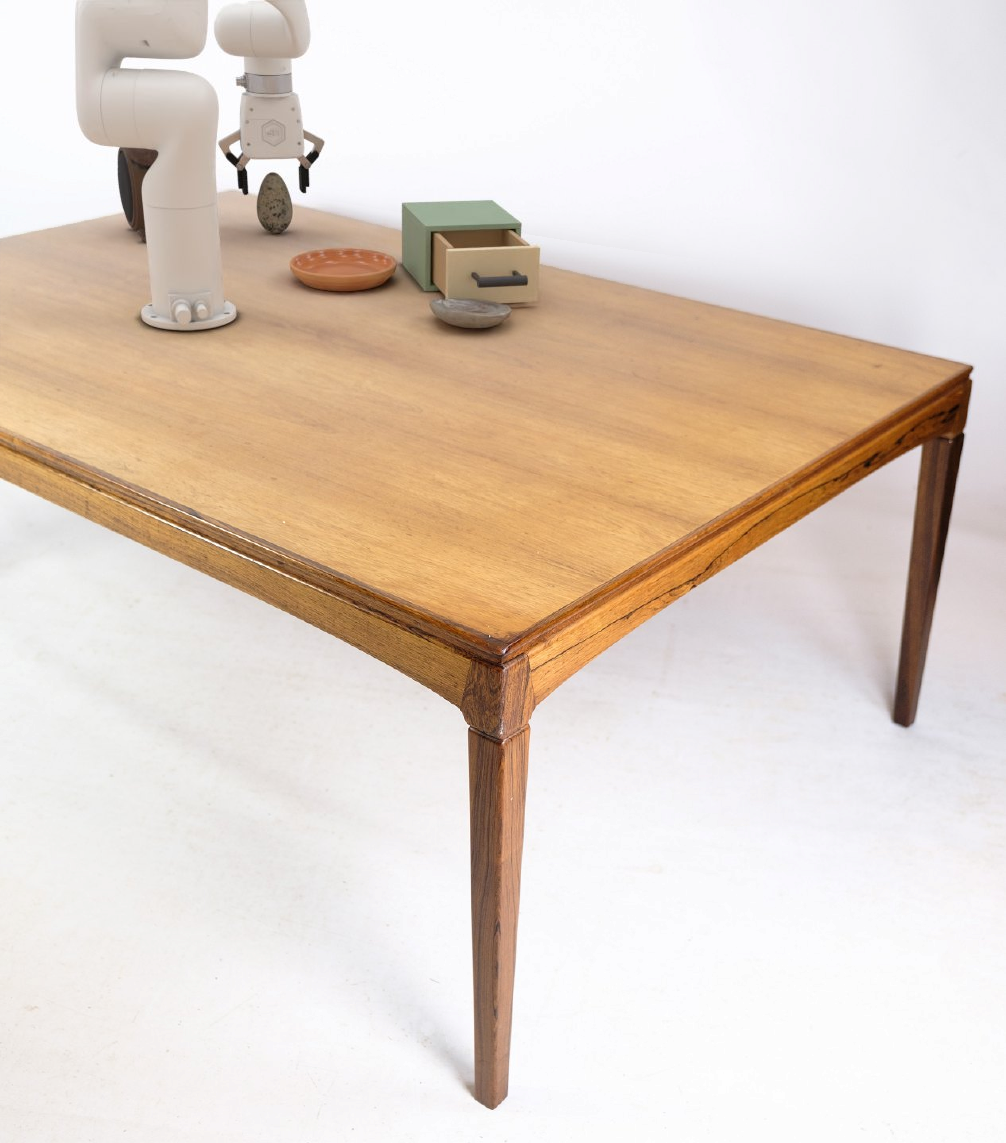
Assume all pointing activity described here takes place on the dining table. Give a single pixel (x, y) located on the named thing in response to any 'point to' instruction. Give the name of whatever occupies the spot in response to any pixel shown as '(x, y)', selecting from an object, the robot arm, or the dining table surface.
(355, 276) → the saucer
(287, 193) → the decorative egg
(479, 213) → the cabinet
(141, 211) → the alarm clock
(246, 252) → the dining table surface
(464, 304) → the fossil
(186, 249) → the robot arm
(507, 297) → the drawer
